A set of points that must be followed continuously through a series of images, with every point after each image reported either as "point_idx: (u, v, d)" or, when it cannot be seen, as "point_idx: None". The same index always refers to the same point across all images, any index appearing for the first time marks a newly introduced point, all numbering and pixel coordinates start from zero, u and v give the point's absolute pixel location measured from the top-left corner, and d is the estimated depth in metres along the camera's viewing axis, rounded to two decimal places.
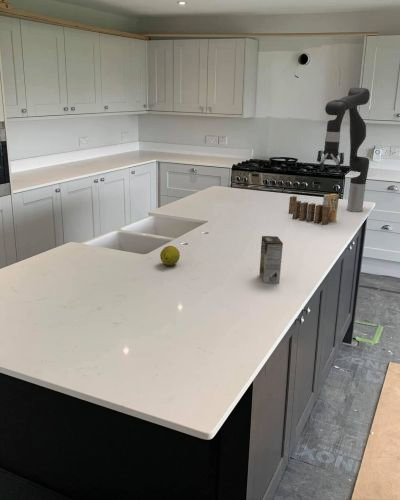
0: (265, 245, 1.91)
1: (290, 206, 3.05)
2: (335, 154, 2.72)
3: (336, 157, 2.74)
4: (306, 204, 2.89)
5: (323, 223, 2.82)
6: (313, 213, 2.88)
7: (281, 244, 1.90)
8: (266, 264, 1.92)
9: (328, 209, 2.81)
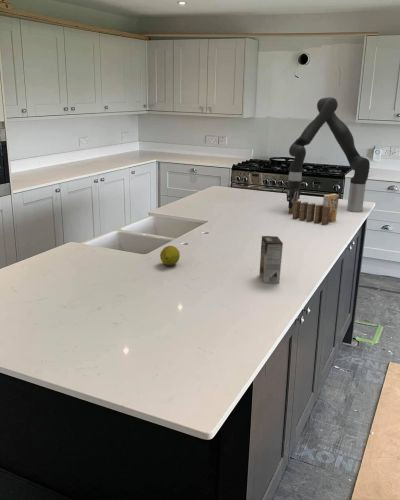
0: (265, 245, 1.91)
1: None
2: (297, 190, 3.06)
3: None
4: (306, 204, 2.89)
5: (323, 223, 2.82)
6: (313, 213, 2.88)
7: (281, 244, 1.90)
8: (266, 264, 1.92)
9: (328, 209, 2.81)
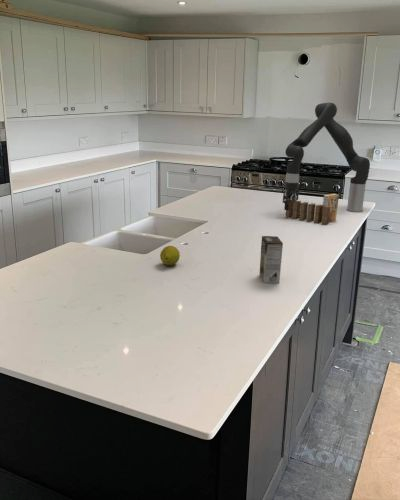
0: (265, 245, 1.91)
1: (287, 210, 2.94)
2: (295, 192, 2.95)
3: None
4: (306, 204, 2.89)
5: (323, 223, 2.82)
6: (313, 213, 2.88)
7: (281, 244, 1.90)
8: (266, 264, 1.92)
9: (328, 209, 2.81)
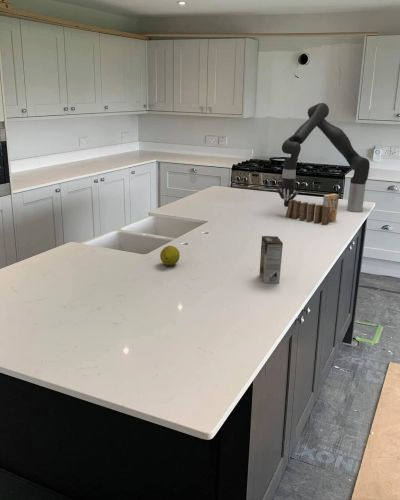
0: (265, 245, 1.91)
1: (288, 210, 2.94)
2: None
3: (284, 193, 2.95)
4: (306, 204, 2.89)
5: (323, 223, 2.82)
6: (313, 213, 2.88)
7: (281, 244, 1.90)
8: (266, 264, 1.92)
9: (328, 209, 2.81)
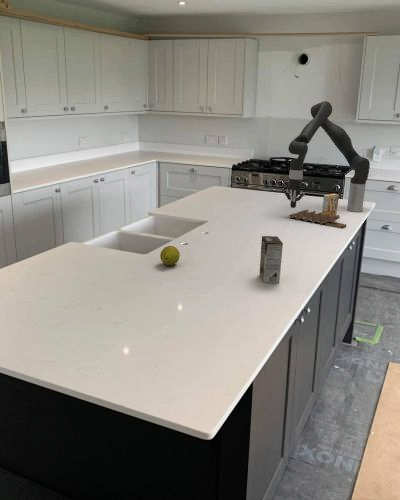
0: (265, 245, 1.91)
1: (295, 214, 2.92)
2: None
3: None
4: None
5: (326, 224, 2.81)
6: None
7: (281, 244, 1.90)
8: (266, 264, 1.92)
9: None
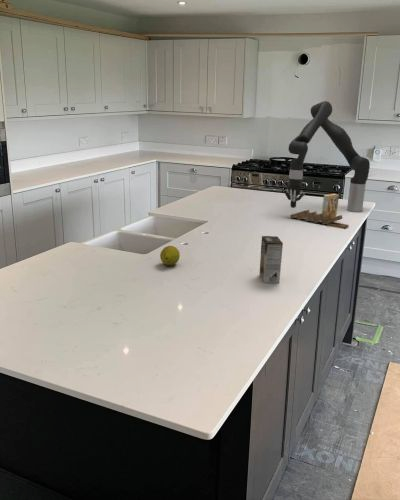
0: (265, 245, 1.91)
1: (297, 214, 2.91)
2: None
3: None
4: (322, 216, 2.84)
5: (328, 225, 2.81)
6: None
7: (281, 244, 1.90)
8: (266, 264, 1.92)
9: None
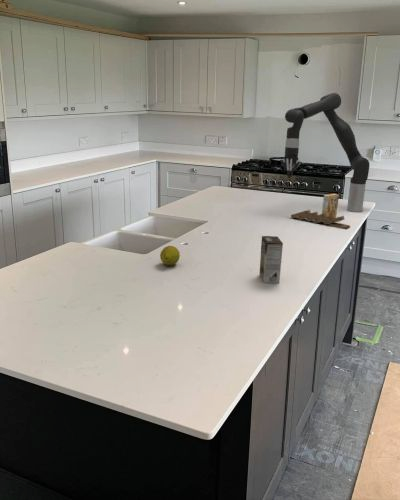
0: (265, 245, 1.91)
1: (297, 214, 2.91)
2: None
3: (287, 163, 2.91)
4: None
5: (330, 225, 2.80)
6: None
7: (281, 244, 1.90)
8: (266, 264, 1.92)
9: None
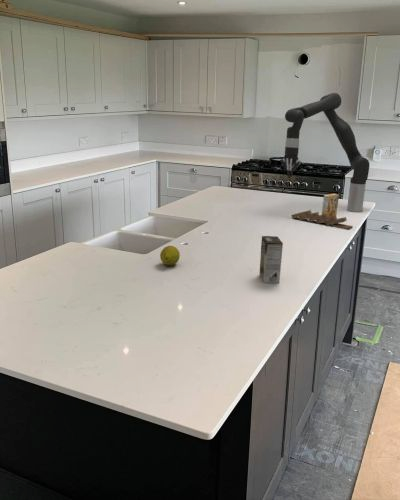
0: (265, 245, 1.91)
1: (298, 215, 2.91)
2: None
3: (287, 162, 2.91)
4: (325, 217, 2.84)
5: (332, 226, 2.79)
6: None
7: (281, 244, 1.90)
8: (266, 264, 1.92)
9: None
